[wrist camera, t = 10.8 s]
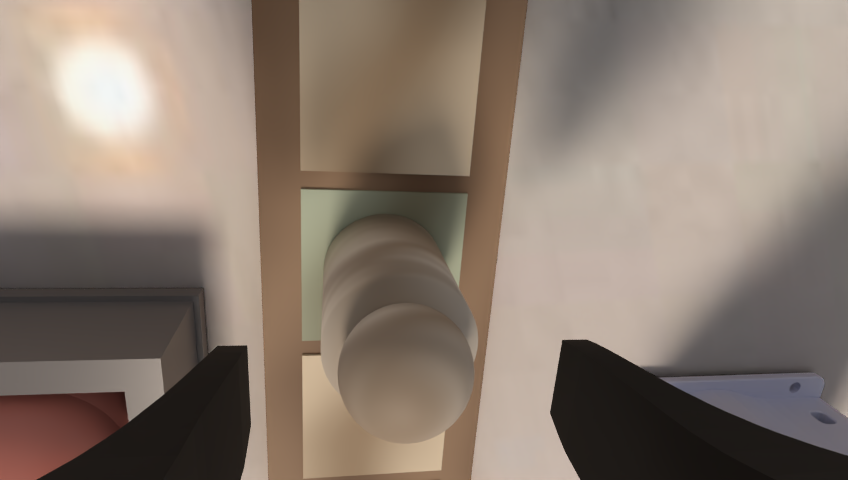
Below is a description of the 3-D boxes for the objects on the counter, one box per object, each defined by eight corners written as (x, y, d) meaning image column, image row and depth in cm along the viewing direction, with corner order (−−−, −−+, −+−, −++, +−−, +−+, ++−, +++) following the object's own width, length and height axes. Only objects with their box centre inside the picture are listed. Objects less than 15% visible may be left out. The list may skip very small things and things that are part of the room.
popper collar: (203, 288, 18) (167, 351, 14) (217, 476, 21) (190, 573, 17) (-66, 288, 17) (-185, 359, 13) (-15, 490, 19) (-101, 598, 16)
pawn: (446, 215, 18) (521, 328, 11) (436, 322, 19) (497, 484, 12) (323, 212, 17) (319, 331, 10) (322, 323, 18) (317, 496, 11)
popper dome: (151, 341, 18) (85, 446, 13) (165, 464, 19) (111, 597, 15) (-21, 344, 17) (-157, 458, 12) (10, 472, 18) (-101, 616, 14)
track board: (522, -10, 17) (530, -12, 16) (455, 568, 24) (459, 582, 24) (253, -34, 15) (250, -38, 15) (274, 585, 23) (272, 601, 22)
